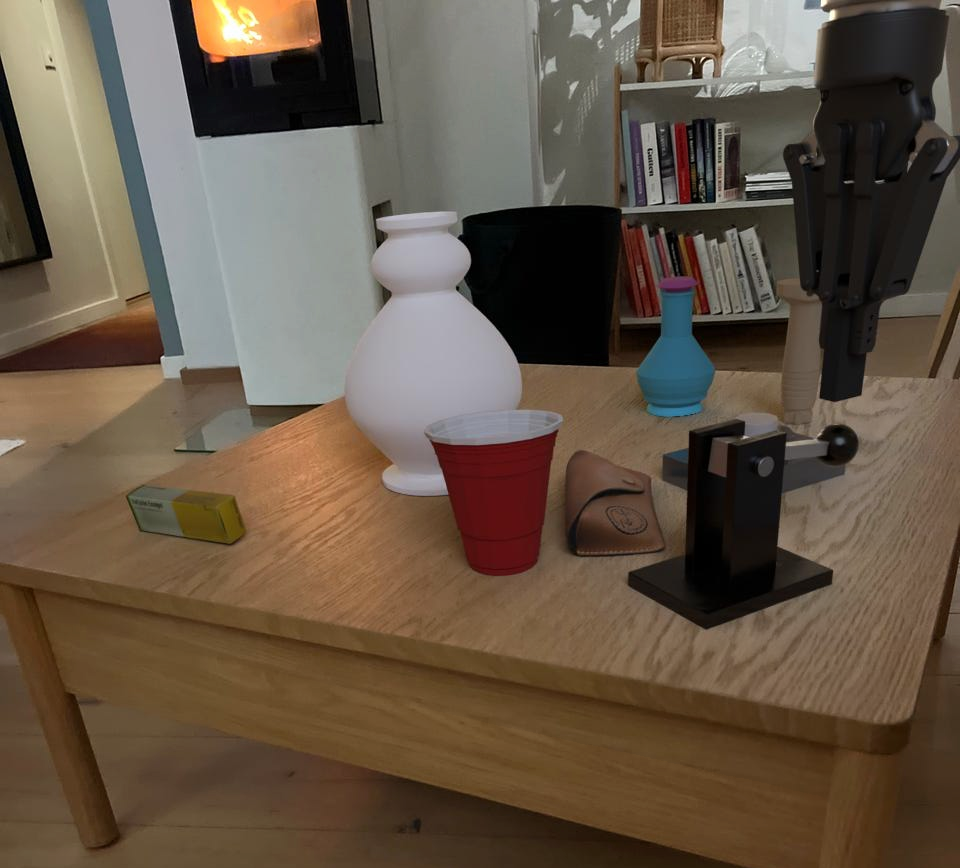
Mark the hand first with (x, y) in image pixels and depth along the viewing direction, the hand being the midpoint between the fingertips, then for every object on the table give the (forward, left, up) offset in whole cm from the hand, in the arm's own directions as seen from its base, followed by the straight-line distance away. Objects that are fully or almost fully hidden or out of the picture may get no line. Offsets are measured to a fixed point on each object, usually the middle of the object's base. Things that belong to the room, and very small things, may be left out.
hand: (840, 396), depth 69 cm
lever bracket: (+10, +2, -12) cm, 16 cm away
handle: (-18, -32, -13) cm, 39 cm away
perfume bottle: (-9, -44, -13) cm, 47 cm away
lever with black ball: (+5, +1, -5) cm, 7 cm away
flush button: (-4, -18, -8) cm, 20 cm away
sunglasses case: (+12, -15, -13) cm, 23 cm away
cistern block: (-4, -18, -12) cm, 22 cm away
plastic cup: (+24, -10, -13) cm, 29 cm away
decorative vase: (+23, -34, -13) cm, 43 cm away
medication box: (+49, -29, -13) cm, 58 cm away
